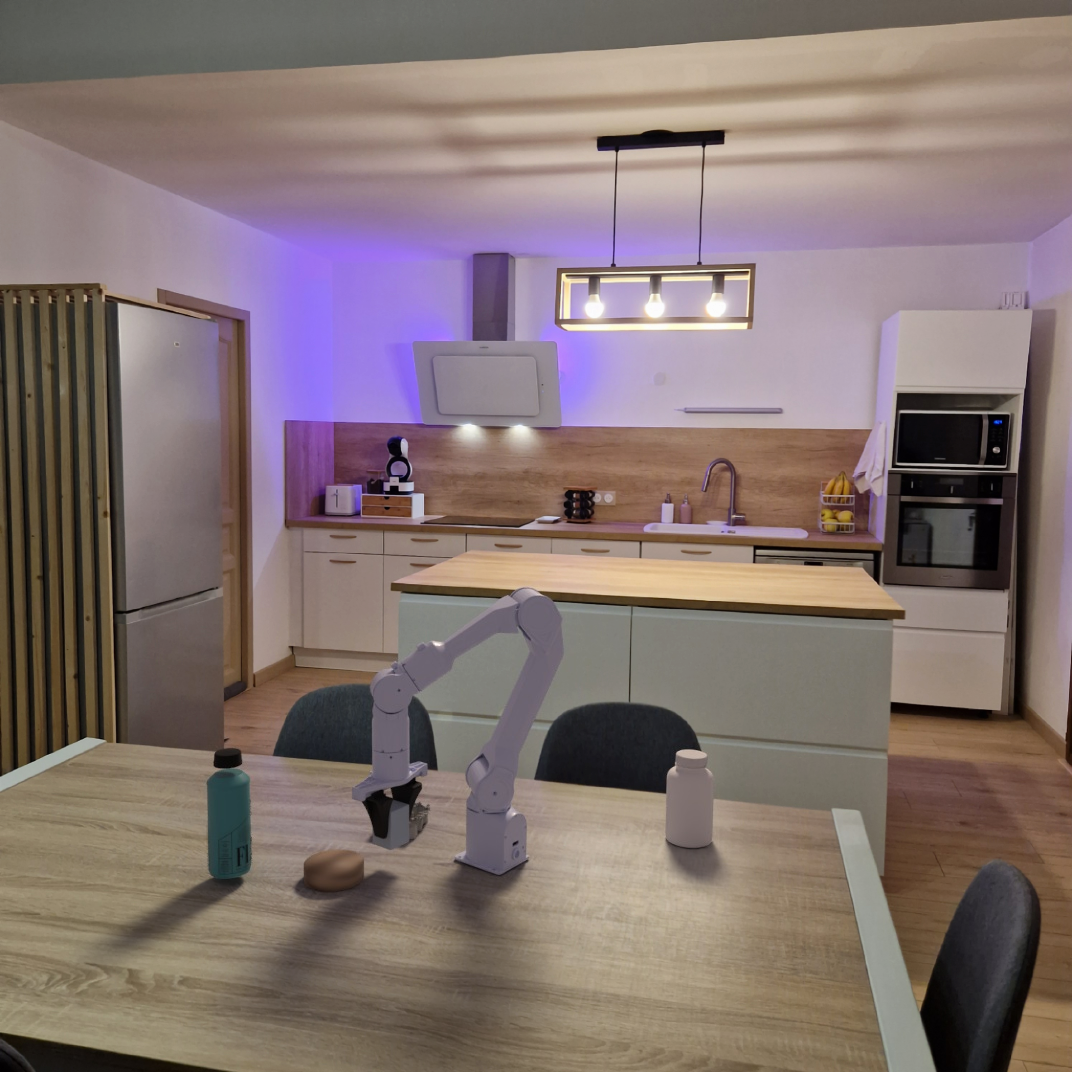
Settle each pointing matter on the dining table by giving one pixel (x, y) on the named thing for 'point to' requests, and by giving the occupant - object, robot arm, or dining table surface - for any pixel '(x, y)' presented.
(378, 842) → the block
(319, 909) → the dining table surface
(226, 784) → the beverage bottle
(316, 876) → the pedestal
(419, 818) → the egg carton
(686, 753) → the pill bottle
